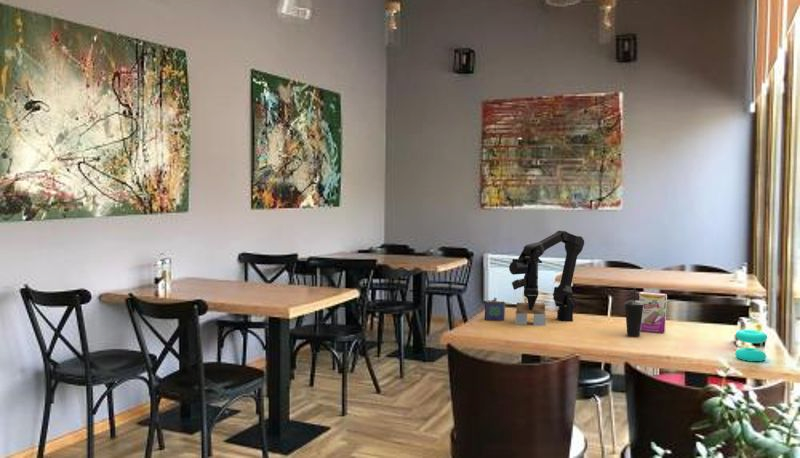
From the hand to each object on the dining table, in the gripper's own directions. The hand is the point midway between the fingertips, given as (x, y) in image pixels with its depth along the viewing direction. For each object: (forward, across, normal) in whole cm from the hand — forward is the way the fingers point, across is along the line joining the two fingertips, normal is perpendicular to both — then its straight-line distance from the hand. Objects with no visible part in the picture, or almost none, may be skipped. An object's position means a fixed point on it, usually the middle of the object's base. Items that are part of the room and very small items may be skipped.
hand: (530, 308), depth 305 cm
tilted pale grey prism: (+7, 0, -4) cm, 8 cm away
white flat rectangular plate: (+7, 0, 0) cm, 7 cm away
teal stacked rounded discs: (+8, +45, +78) cm, 90 cm away
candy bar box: (+8, +3, +51) cm, 52 cm away
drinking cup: (+8, +14, +42) cm, 45 cm away
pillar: (+7, 0, +4) cm, 8 cm away
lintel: (+2, 0, 0) cm, 2 cm away
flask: (+8, -5, -16) cm, 18 cm away
